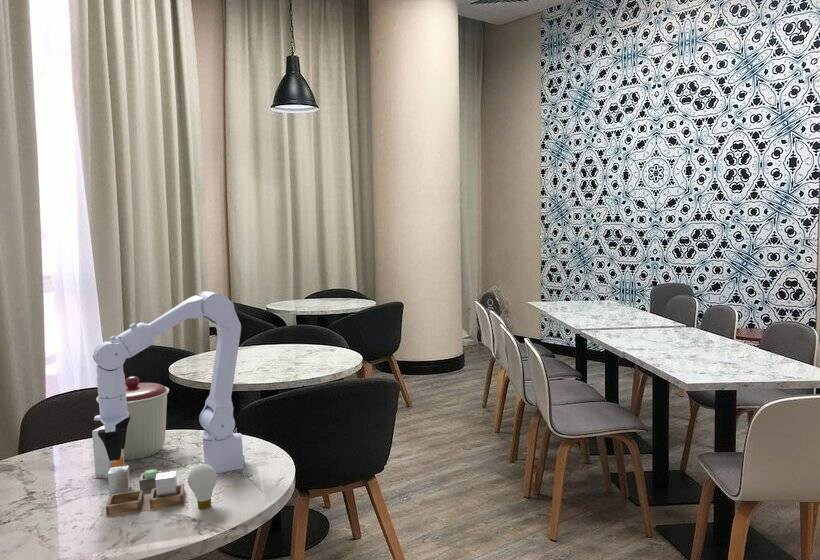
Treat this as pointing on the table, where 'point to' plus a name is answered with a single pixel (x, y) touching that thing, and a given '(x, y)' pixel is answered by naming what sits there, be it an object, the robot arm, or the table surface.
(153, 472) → the button
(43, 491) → the table surface
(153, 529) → the table surface
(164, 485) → the seated billet
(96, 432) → the skincare box
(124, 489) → the billet
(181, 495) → the wooden divided tray
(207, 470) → the light bulb
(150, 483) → the button housing
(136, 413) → the canister
